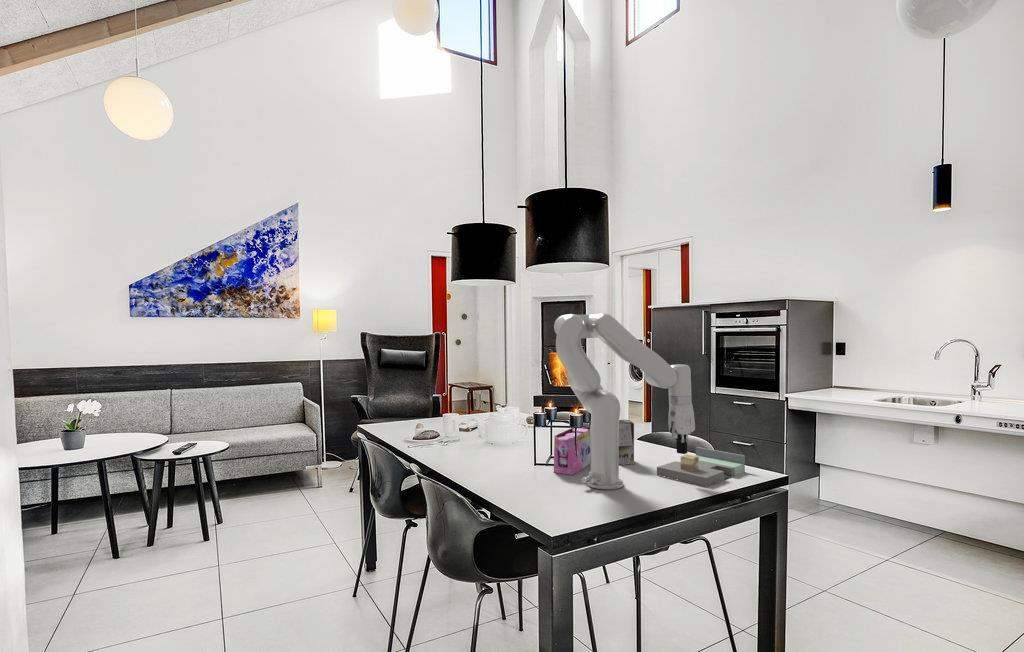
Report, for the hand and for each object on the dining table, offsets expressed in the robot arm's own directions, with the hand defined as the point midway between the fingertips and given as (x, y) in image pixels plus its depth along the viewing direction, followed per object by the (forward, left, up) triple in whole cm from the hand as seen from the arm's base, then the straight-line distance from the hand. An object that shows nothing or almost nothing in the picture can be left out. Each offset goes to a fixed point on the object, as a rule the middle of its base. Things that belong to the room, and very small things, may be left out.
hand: (682, 453), depth 184 cm
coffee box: (+7, +29, -10) cm, 32 cm away
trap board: (+14, 0, -10) cm, 17 cm away
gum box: (-13, +38, -10) cm, 41 cm away
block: (+6, 0, -7) cm, 9 cm away
